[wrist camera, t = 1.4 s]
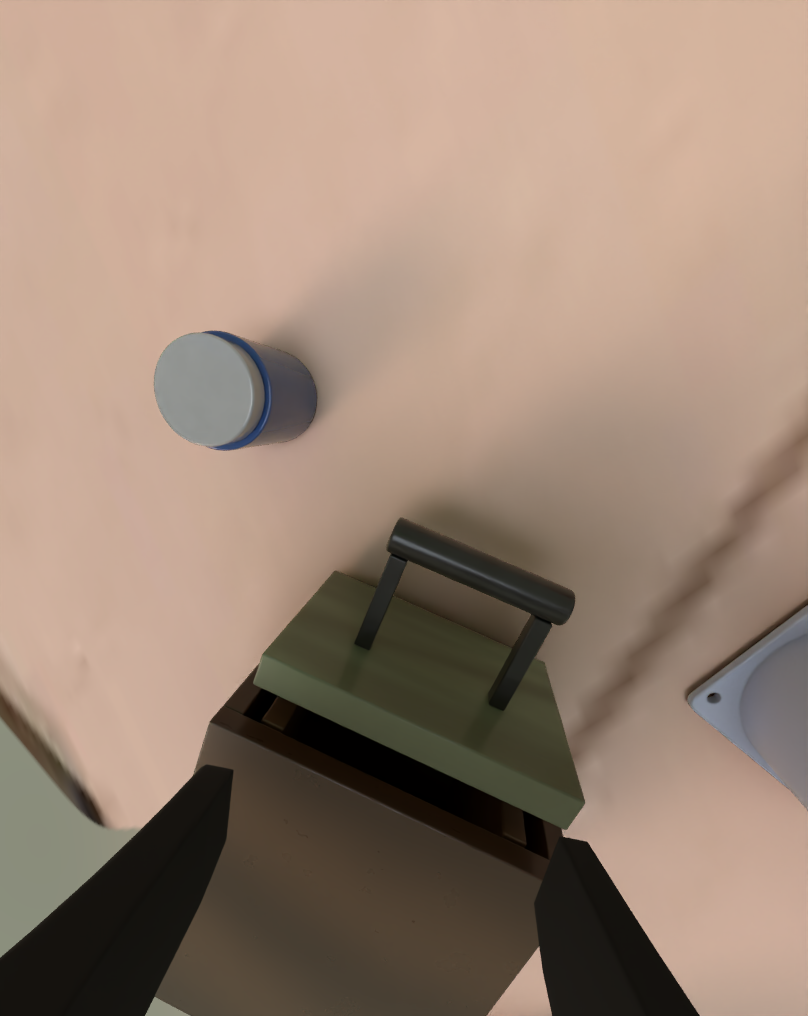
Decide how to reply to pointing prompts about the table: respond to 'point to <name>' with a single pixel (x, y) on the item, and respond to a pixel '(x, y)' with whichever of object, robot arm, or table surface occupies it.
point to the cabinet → (348, 891)
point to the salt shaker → (232, 391)
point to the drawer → (431, 689)
